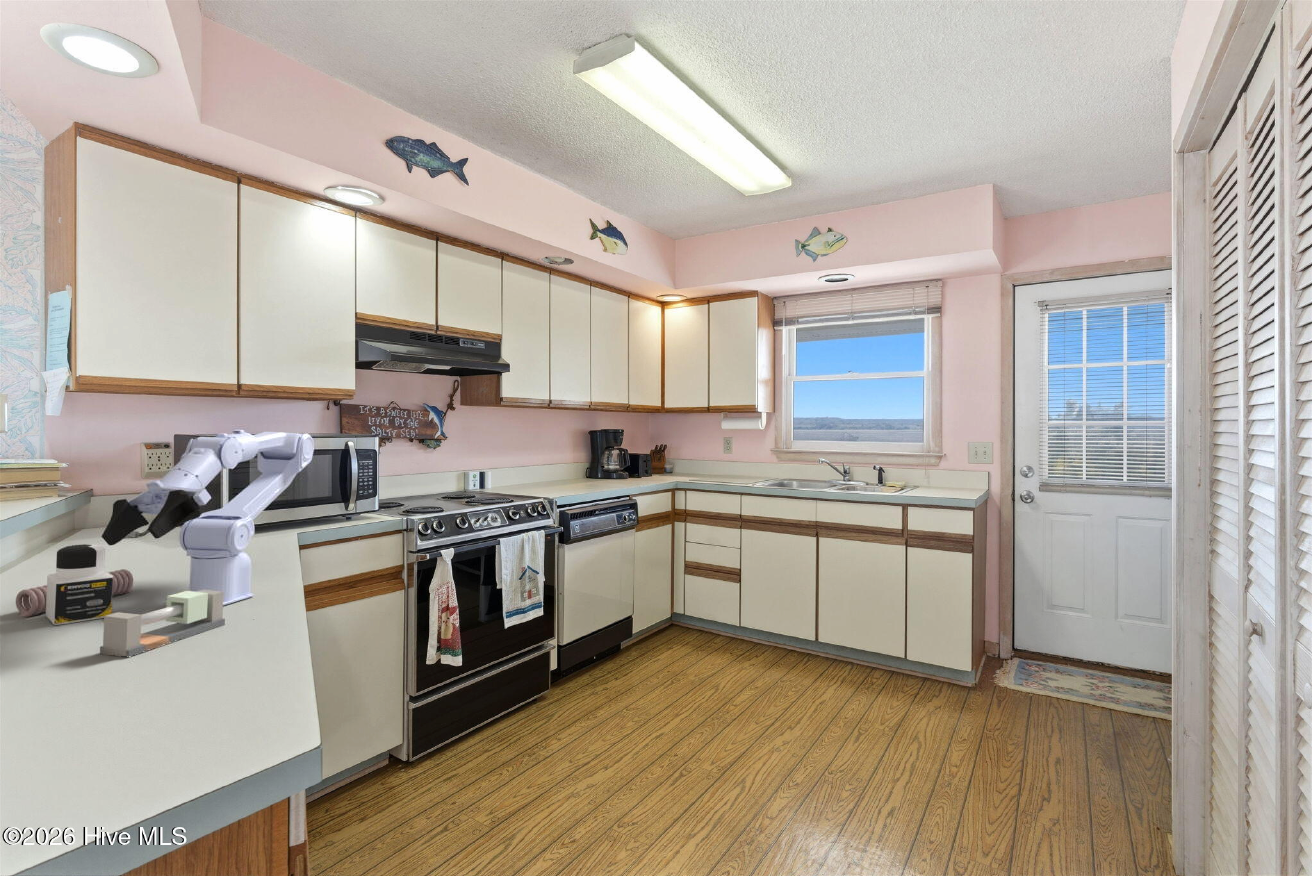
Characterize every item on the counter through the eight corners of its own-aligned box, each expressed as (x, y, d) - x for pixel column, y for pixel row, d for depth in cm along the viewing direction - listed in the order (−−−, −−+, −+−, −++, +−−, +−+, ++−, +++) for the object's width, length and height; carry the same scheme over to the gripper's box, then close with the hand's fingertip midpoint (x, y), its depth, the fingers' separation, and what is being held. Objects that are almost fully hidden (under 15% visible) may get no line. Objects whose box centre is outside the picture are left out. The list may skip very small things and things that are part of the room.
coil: (33, 593, 103) (140, 570, 121) (10, 588, 104) (119, 566, 121) (30, 621, 103) (136, 594, 121) (7, 615, 104) (116, 589, 121)
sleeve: (186, 615, 102) (187, 590, 102) (206, 617, 102) (208, 593, 102) (165, 621, 99) (166, 596, 99) (187, 623, 98) (188, 598, 98)
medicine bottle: (54, 626, 100) (57, 551, 100) (45, 616, 104) (48, 545, 104) (111, 617, 106) (115, 546, 106) (101, 608, 110) (104, 540, 110)
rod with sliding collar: (199, 621, 105) (200, 589, 105) (224, 624, 105) (226, 592, 105) (99, 653, 90) (101, 615, 90) (128, 657, 89) (130, 619, 89)
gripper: (130, 470, 106) (69, 524, 94) (210, 458, 105) (158, 510, 93) (155, 502, 109) (99, 557, 98) (232, 490, 108) (185, 544, 97)
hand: (130, 537), depth 96 cm, fingers open, 7 cm apart
